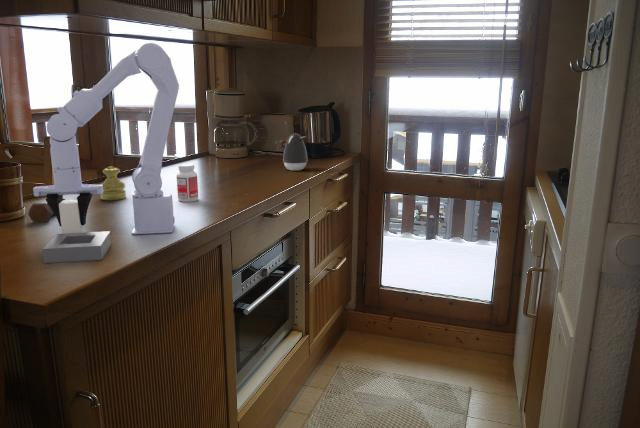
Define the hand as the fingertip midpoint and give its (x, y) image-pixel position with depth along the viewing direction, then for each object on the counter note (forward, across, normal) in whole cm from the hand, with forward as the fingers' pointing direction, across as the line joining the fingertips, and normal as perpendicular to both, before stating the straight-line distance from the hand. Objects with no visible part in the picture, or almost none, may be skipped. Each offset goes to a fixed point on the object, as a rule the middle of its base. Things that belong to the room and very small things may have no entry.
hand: (72, 224), depth 124 cm
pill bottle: (+3, -25, -36) cm, 44 cm away
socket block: (+3, -4, +13) cm, 14 cm away
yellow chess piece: (+3, -2, -43) cm, 43 cm away
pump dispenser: (+3, -67, -88) cm, 111 cm away
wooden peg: (+2, 0, 0) cm, 2 cm away
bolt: (+3, +10, -23) cm, 25 cm away
